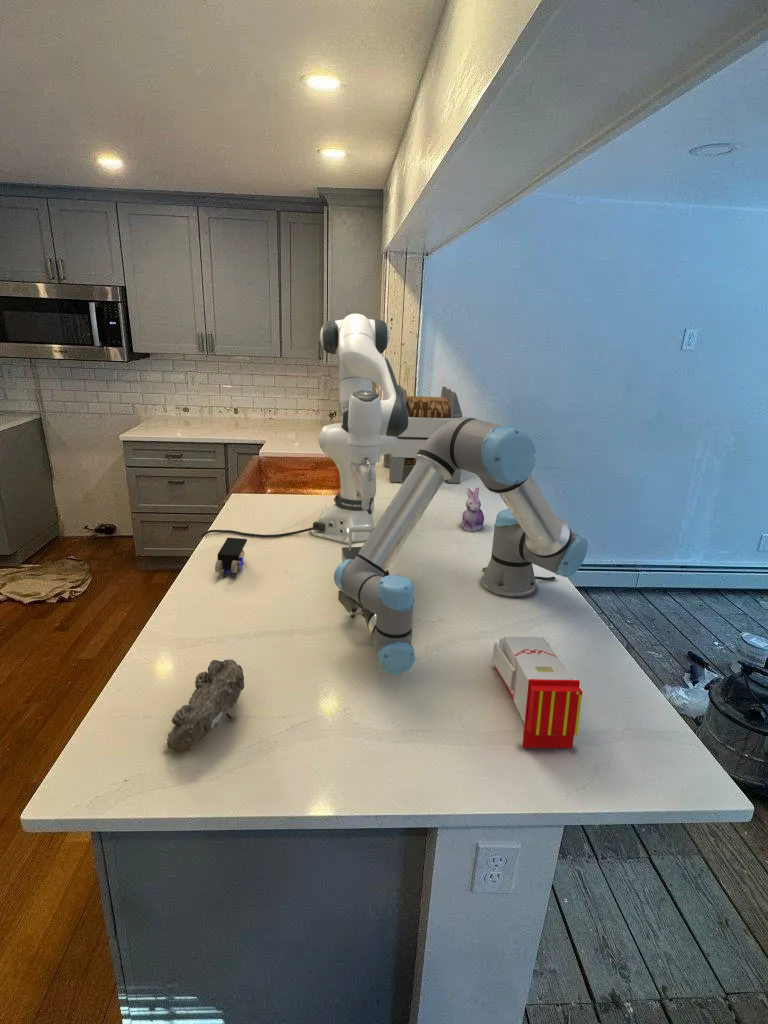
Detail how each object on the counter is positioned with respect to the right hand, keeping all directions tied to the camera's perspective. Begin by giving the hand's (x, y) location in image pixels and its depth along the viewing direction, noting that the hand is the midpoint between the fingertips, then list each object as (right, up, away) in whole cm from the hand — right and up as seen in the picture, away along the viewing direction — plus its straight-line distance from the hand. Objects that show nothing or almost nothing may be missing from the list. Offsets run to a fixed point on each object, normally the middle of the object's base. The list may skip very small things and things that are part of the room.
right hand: (367, 579), depth 150 cm
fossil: (-28, -21, -42) cm, 55 cm away
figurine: (+37, +12, +59) cm, 71 cm away
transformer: (+22, +37, +125) cm, 132 cm away
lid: (-1, +4, +4) cm, 6 cm away
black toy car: (-40, +1, +18) cm, 44 cm away
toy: (+34, -21, -33) cm, 52 cm away
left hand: (-2, +20, +5) cm, 21 cm away
